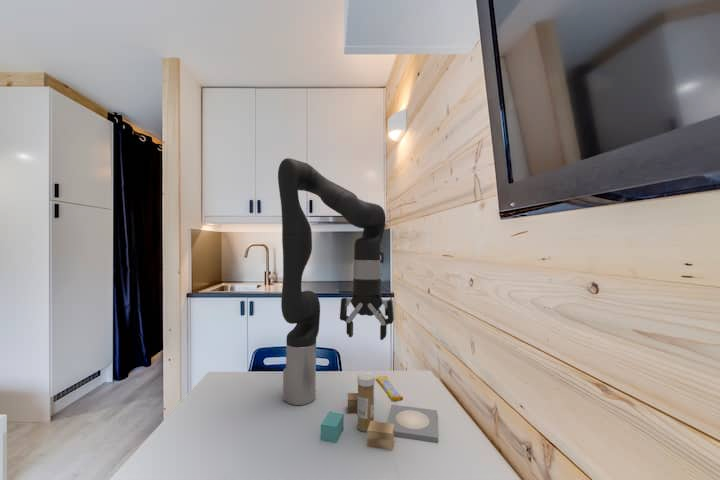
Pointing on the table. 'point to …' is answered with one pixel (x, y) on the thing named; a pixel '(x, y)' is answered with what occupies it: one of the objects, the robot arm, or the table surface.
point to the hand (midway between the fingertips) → (366, 337)
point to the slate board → (414, 423)
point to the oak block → (380, 435)
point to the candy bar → (388, 388)
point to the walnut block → (352, 402)
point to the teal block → (332, 427)
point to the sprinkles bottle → (365, 400)
